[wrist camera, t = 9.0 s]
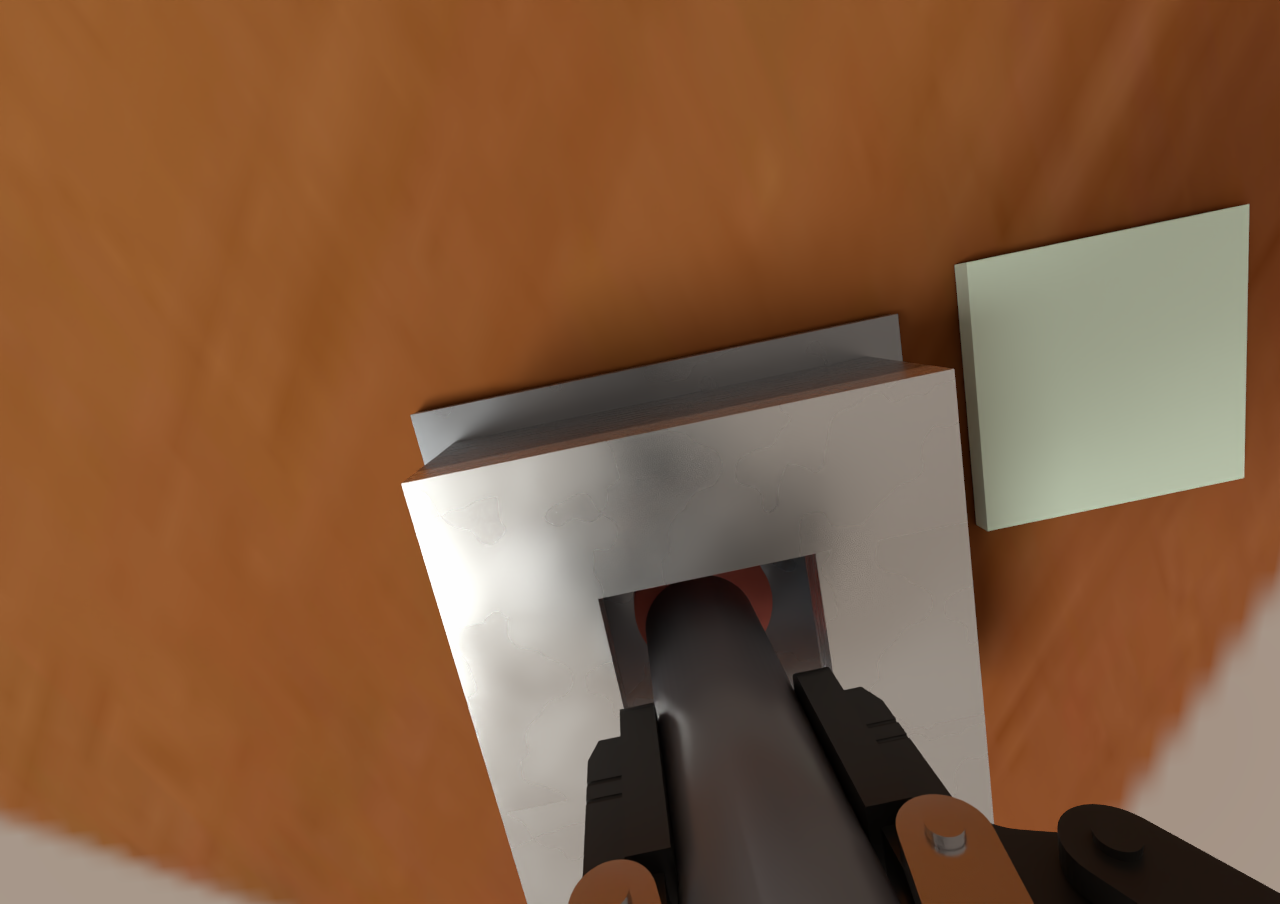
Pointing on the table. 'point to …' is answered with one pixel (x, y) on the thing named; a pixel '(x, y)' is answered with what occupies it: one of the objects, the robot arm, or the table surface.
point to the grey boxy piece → (699, 552)
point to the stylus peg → (747, 764)
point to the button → (745, 579)
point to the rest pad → (1106, 367)
